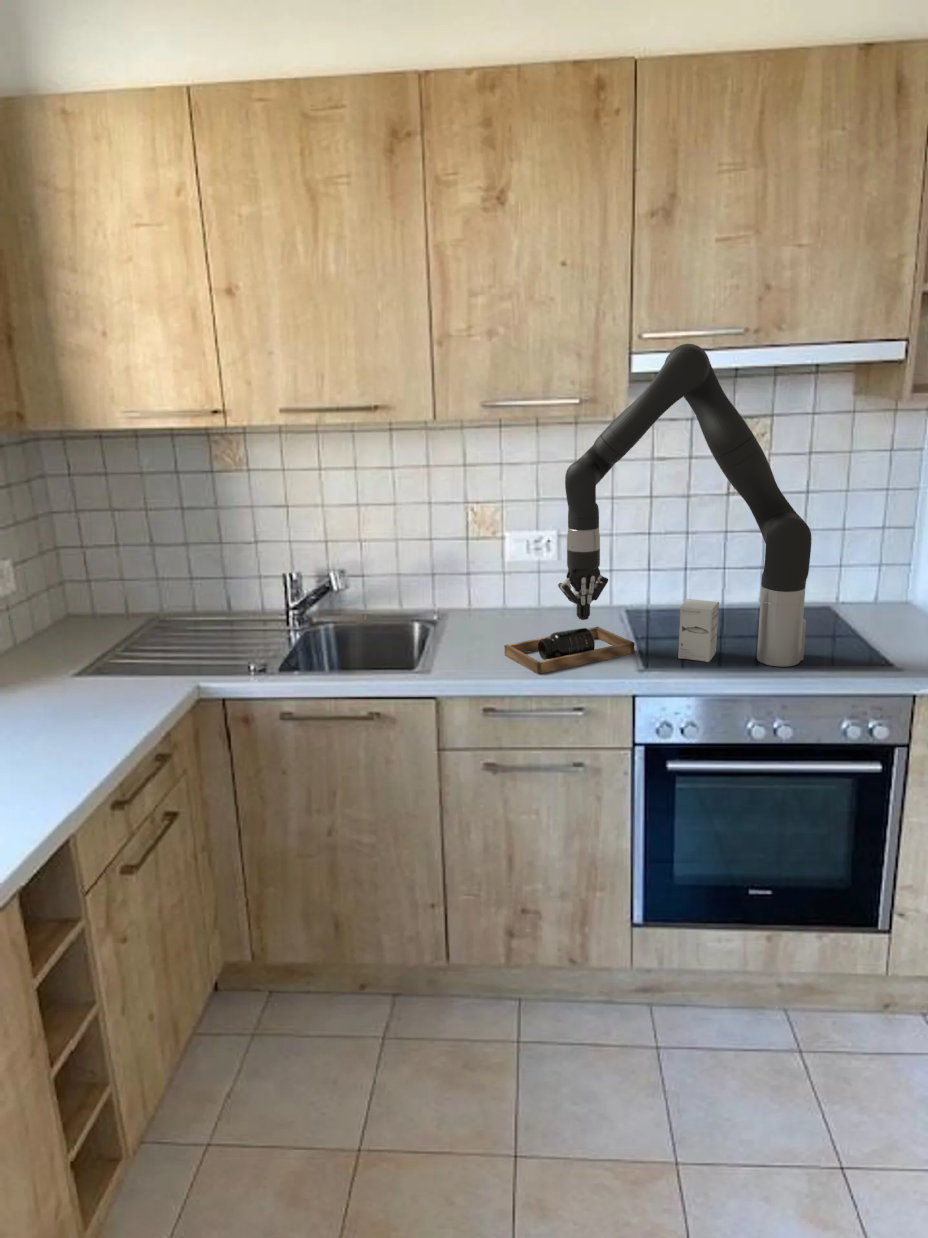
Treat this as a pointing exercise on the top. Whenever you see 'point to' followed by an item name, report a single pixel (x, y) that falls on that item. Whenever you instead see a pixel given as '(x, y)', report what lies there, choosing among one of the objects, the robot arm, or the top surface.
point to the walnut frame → (618, 649)
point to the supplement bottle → (566, 643)
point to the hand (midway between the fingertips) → (583, 618)
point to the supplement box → (698, 630)
